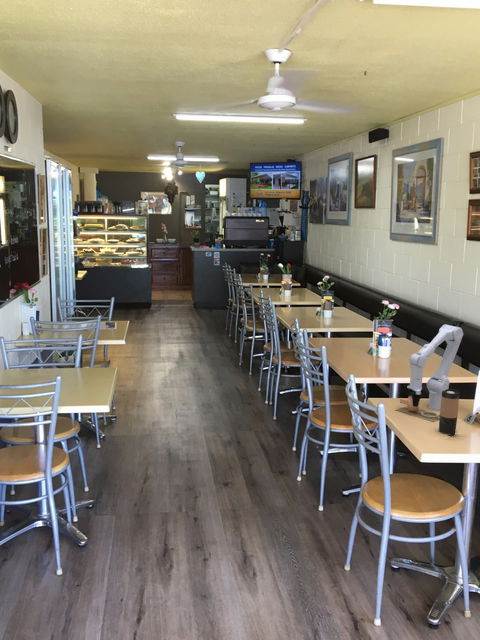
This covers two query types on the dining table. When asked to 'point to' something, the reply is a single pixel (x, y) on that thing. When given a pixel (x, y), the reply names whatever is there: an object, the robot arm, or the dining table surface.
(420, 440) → the dining table surface
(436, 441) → the dining table surface
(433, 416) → the board
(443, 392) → the travel mug
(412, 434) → the dining table surface
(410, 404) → the cylinder with stick handle
